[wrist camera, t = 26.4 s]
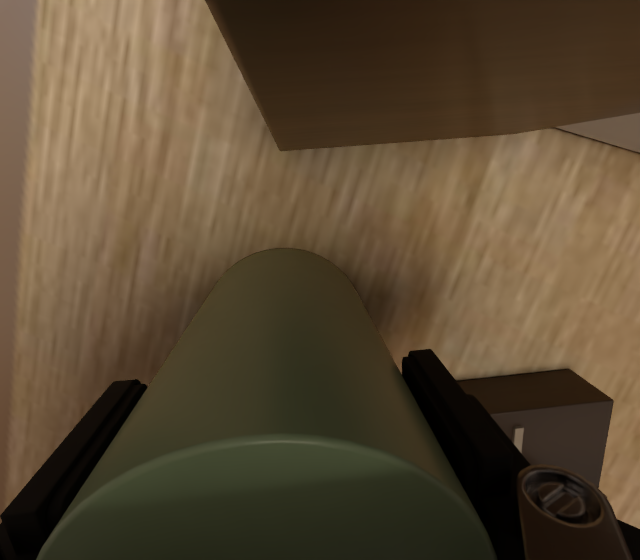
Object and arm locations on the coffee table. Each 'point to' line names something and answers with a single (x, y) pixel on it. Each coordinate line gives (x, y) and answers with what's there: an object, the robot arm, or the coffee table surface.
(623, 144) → the milk carton
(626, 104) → the plinth
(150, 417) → the tin
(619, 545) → the robot arm
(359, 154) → the coffee table surface
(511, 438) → the panel
